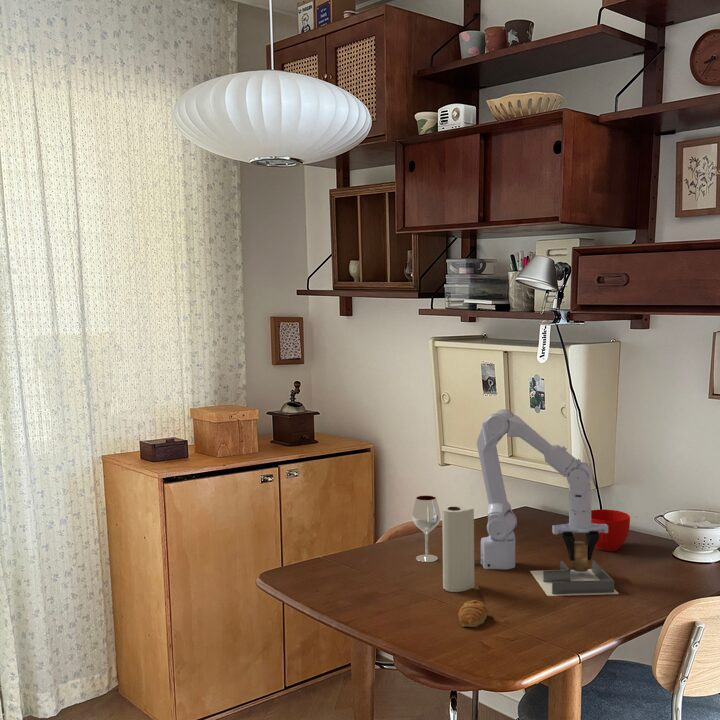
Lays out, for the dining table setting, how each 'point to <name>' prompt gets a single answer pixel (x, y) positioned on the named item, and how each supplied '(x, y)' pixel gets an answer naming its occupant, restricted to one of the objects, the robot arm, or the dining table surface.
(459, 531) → the paper towel roll
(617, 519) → the ceramic cup
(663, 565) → the dining table surface
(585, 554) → the oak dowel
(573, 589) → the metal rails
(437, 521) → the wineglass
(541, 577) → the track board
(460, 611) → the pastry
